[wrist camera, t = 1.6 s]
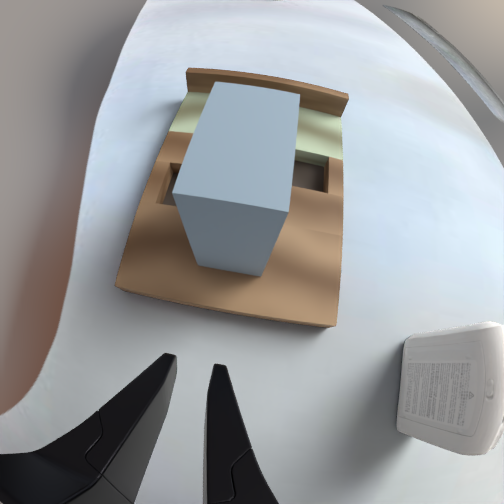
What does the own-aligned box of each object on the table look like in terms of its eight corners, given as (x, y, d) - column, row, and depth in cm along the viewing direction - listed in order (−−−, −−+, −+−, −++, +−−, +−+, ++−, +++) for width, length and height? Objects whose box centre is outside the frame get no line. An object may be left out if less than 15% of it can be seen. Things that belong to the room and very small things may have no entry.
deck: (327, 327, 23) (351, 322, 18) (123, 290, 23) (99, 276, 18) (335, 122, 31) (348, 93, 26) (191, 98, 31) (188, 67, 26)
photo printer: (423, 428, 20) (512, 449, 8) (390, 436, 20) (479, 469, 8) (431, 332, 23) (526, 311, 12) (399, 334, 23) (498, 313, 12)
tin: (261, 276, 22) (288, 212, 12) (197, 265, 22) (172, 192, 12) (274, 189, 25) (300, 94, 14) (218, 180, 25) (215, 81, 14)
